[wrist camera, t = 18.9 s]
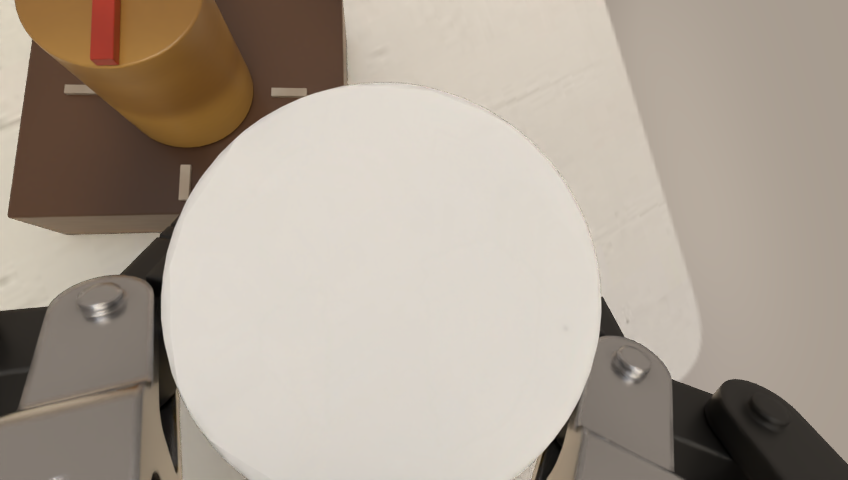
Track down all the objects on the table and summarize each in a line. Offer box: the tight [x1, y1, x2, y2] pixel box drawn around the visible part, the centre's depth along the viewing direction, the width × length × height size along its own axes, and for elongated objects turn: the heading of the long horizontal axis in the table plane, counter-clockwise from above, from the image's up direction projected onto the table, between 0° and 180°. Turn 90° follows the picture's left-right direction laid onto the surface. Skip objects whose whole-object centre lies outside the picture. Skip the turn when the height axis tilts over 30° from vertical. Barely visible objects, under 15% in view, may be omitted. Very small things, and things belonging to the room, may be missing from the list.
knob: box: [15, 0, 253, 147], centre depth 14 cm, size 5×5×6 cm
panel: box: [8, 0, 347, 235], centre depth 18 cm, size 12×10×3 cm
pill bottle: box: [161, 83, 601, 480], centre depth 10 cm, size 6×6×11 cm
